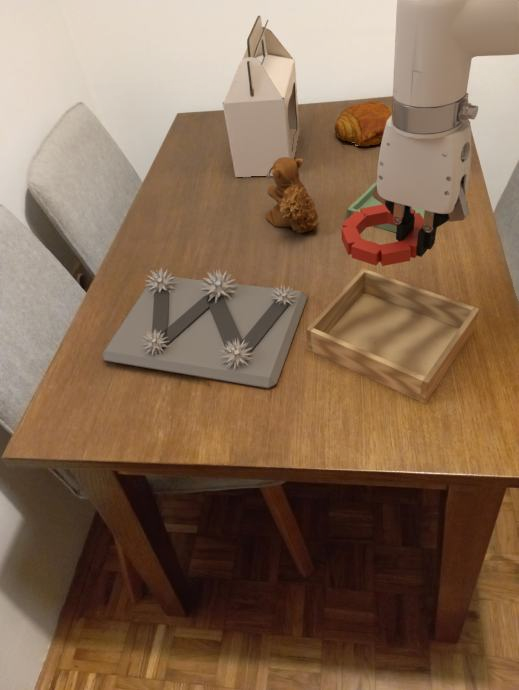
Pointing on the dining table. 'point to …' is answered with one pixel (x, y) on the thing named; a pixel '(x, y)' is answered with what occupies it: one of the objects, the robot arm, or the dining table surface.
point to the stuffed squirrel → (290, 198)
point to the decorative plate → (209, 329)
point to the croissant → (363, 123)
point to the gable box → (262, 105)
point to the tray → (369, 201)
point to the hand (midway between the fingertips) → (414, 247)
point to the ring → (374, 251)
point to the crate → (393, 332)
